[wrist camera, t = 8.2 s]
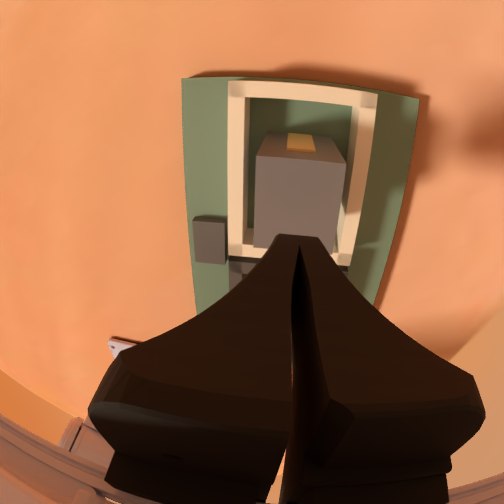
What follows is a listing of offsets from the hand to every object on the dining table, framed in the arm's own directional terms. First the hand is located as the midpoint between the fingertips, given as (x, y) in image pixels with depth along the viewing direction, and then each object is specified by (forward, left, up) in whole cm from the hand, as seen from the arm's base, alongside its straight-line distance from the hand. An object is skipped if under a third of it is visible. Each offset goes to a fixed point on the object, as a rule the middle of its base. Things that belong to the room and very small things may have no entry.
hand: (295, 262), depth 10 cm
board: (-4, 0, -10) cm, 11 cm away
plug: (+1, 0, -9) cm, 9 cm away
